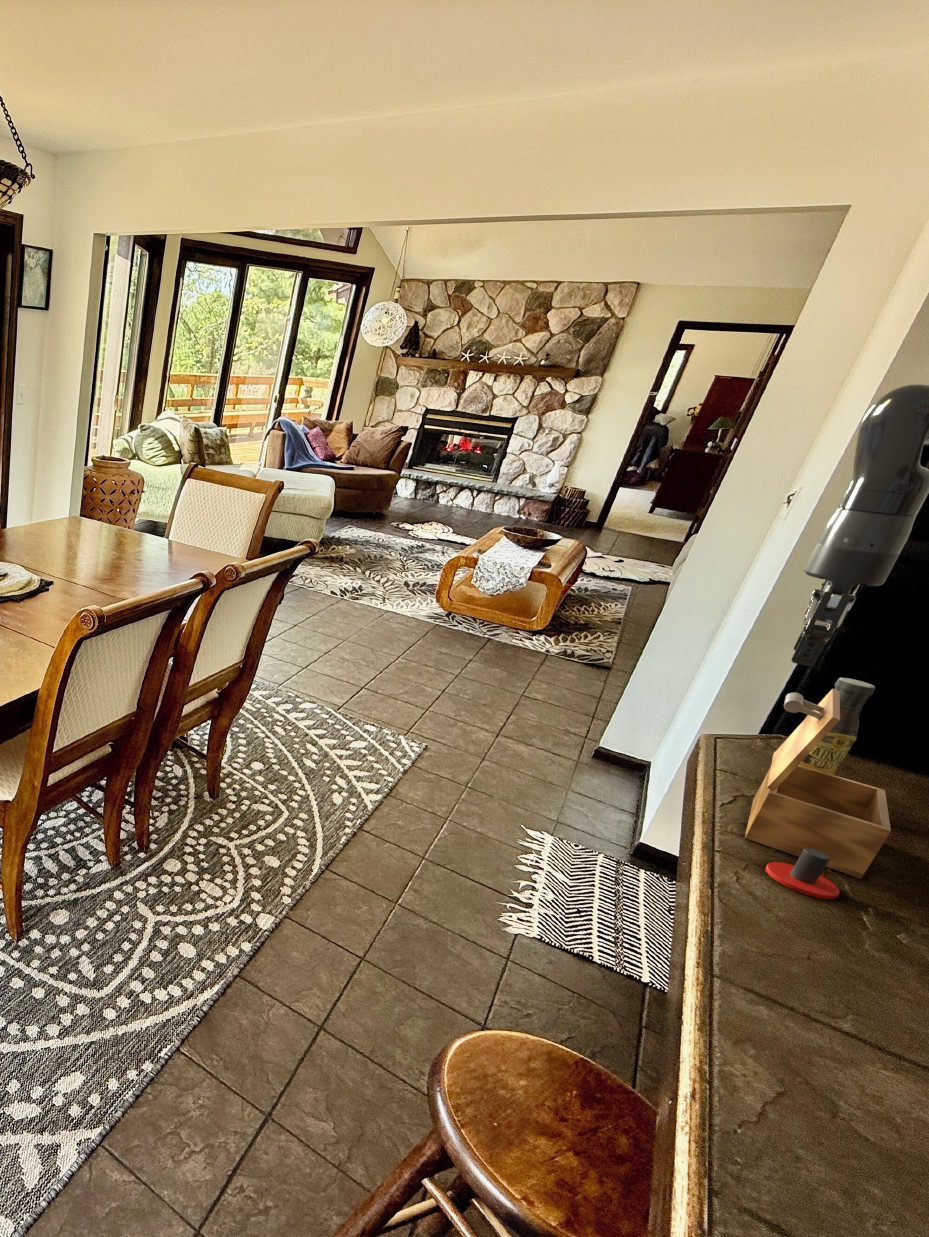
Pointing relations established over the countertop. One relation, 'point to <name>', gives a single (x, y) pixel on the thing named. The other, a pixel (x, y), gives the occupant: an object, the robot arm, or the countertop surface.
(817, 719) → the chest lid
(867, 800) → the chest
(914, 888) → the countertop surface
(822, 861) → the pan lid
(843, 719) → the sauce bottle
